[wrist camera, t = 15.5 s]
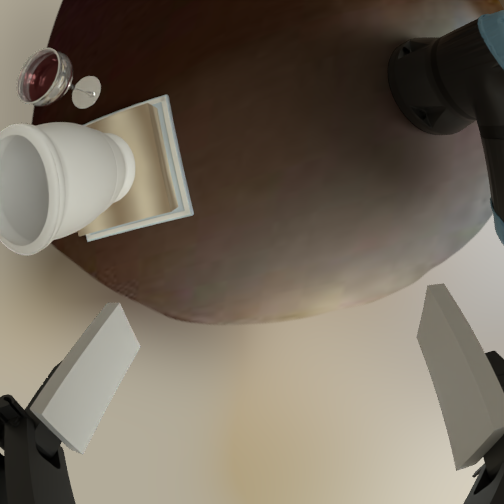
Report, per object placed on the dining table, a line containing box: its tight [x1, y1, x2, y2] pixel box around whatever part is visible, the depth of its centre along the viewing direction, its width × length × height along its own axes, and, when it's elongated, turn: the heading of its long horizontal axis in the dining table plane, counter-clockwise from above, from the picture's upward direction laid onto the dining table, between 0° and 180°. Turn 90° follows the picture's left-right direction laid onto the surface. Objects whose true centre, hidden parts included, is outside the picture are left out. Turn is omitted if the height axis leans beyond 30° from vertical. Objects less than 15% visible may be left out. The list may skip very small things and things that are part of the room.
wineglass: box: [17, 48, 101, 109], centre depth 26 cm, size 7×7×12 cm
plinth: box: [78, 103, 179, 236], centre depth 33 cm, size 13×13×4 cm
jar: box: [0, 122, 135, 256], centre depth 23 cm, size 11×10×15 cm
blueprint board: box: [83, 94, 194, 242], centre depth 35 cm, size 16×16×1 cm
